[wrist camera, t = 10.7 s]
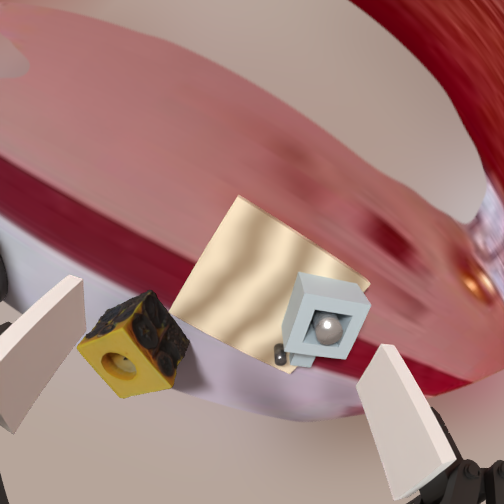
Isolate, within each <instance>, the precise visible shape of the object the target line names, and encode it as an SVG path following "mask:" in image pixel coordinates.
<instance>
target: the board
mask: <svg viewBox="0 0 504 504" xmlns="http://www.w3.org/2000/svg"><path fill="white" fill-rule="evenodd" d="M298 272H303V273H308V274H312V275H317V276H322V277H327V278H332V279H337V280H342V281H347V282H352V283H357V284H358V286H359V287H360V289H361V290H362V292H363V293H364V291H365V290H366V289H367V288H368V286H369V285H370V282H369V281H368V280H367V278H365V277H364V276H362V275H361V274H359V273H358V272H356V271H355V270H354V269H352V268H351V267H349V266H348V265H346V264H345V263H343V262H342V261H340V260H339V259H337V258H336V257H335V256H333V255H332V254H330V253H329V252H327V251H326V250H324V249H323V248H321V247H320V246H318V245H317V244H315V243H314V242H312V241H311V240H309V239H308V238H306V237H305V236H303V235H301V234H300V233H298V232H297V231H295V230H294V229H292V228H291V227H289V226H288V225H286V224H285V223H283V222H281V221H280V220H278V219H277V218H275V217H274V216H272V215H270V214H269V213H267V212H266V211H264V210H263V209H261V208H259V207H258V206H256V205H255V204H253V203H251V202H250V201H248V200H247V199H245V198H243V197H242V196H240V195H238V197H237V198H236V200H235V201H234V203H233V204H232V206H231V208H230V209H229V211H228V212H227V214H226V216H225V217H224V219H223V220H222V222H221V224H220V225H219V227H218V229H217V230H216V232H215V234H214V235H213V237H212V238H211V240H210V242H209V243H208V245H207V247H206V248H205V250H204V252H203V253H202V255H201V257H200V258H199V260H198V262H197V263H196V265H195V267H194V268H193V270H192V272H191V274H190V275H189V277H188V279H187V280H186V282H185V284H184V286H183V287H182V289H181V291H180V293H179V294H178V296H177V298H176V299H175V301H174V303H173V305H172V307H171V308H170V310H169V313H171V314H172V315H174V316H176V317H177V318H179V319H181V320H183V321H185V322H186V323H188V324H190V325H192V326H194V327H195V328H197V329H199V330H201V331H203V332H205V333H206V334H208V335H210V336H212V337H214V338H216V339H218V340H220V341H222V342H224V343H226V344H228V345H230V346H231V347H233V348H235V349H237V350H239V351H241V352H244V353H246V354H248V355H250V356H252V357H254V358H256V359H258V360H260V361H262V362H264V363H267V364H269V365H271V366H273V367H275V368H277V369H280V370H282V371H284V372H286V373H289V374H290V373H291V372H292V371H293V370H294V369H295V368H296V367H297V366H293V365H290V361H289V354H290V352H286V358H287V362H286V364H285V365H283V366H278V365H276V364H275V360H274V346H275V345H276V344H278V343H282V344H283V336H282V327H281V325H282V322H283V319H284V316H285V313H286V310H287V307H288V303H289V300H290V297H291V294H292V291H293V287H294V284H295V281H296V278H297V274H298ZM311 320H312V319H311Z"/></svg>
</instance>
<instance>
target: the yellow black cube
mask: <svg viewBox="0 0 504 504" xmlns="http://www.w3.org/2000/svg"><path fill="white" fill-rule="evenodd" d="M188 345H189V340H188V339H187V338H186V336H185V334H183V333H182V330H181V328H180V327H179V326H178V325H177V324H176V322H175V320H174V319H173V318H172V317H171V316H170V314H169V313H168V312H167V310H166V308H164V306H163V305H162V304H161V302H160V301H159V300H158V298H157V296H156V294H155V293H154V292H153V291H152V290H148V291H147V292H145V293H142V294H140V295H139V296H137V297H134V298H131V299H129V300H128V301H126V302H124V303H122V304H119V305H117V306H116V307H113V308H111V309H108V310H107V311H106V312H105V314H104V315H103V316H101V317H100V319H99V321H98V323H97V324H96V326H95V327H94V328H93V329H92V331H91V332H90V333H88V334H86V336H85V337H84V338H83V340H82V341H81V342H80V343H79V344H78V346H77V349H78V351H79V352H80V354H81V355H82V356H83V357H84V358H85V359H86V360H87V362H88V363H89V364H90V365H91V366H92V367H93V368H94V370H95V371H96V372H97V373H98V374H99V375H100V376H101V378H102V379H103V380H104V381H105V382H106V383H107V384H108V385H109V386H110V387H111V388H112V390H113V391H114V392H115V393H116V394H117V395H118V396H119V397H120V398H127V397H130V396H134V395H140V394H144V393H149V392H155V391H160V390H165V389H170V388H172V387H173V385H174V380H175V376H176V369H177V366H178V364H179V363H180V361H181V360H182V359H183V358H184V356H185V353H186V352H185V351H186V350H187V348H188Z"/></svg>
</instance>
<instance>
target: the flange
mask: <svg viewBox="0 0 504 504" xmlns="http://www.w3.org/2000/svg"><path fill="white" fill-rule="evenodd" d="M370 307H371V304H370V302H369V301H368V299H367V298H366V296H365V295H364V293H363V292H362V290H361V289H360V287H359V286H358V284H357V283H352V282H347V281H342V280H337V279H332V278H327V277H322V276H317V275H312V274H308V273H303V272H298V274H297V278H296V281H295V284H294V287H293V291H292V294H291V297H290V300H289V303H288V307H287V310H286V313H285V316H284V319H283V322H282V325H281V327H282V336H283V345H284V352H290V354H289V361H290V365H293V366H301V367H309V368H311V365H312V363H313V361H314V359H315V357H316V356H320V357H329V358H338V359H346V358H347V356H348V354H349V352H350V350H351V348H352V346H353V344H354V342H355V340H356V338H357V335H358V333H359V331H360V329H361V327H362V325H363V323H364V320H365V318H366V316H367V314H368V311H369V309H370ZM315 310H321V311H327V312H333V313H336V314H337V317H338V319H339V322H340V324H341V326H342V329H343V335H342V337H341V339H340V340H339V341H337V342H336V343H334V344H330V345H324V344H322V343H320V342H319V341H318V340H317V336H316V333H315V329H314V325H313V322H312V320H311V319H312V316H313V313H314V311H315Z"/></svg>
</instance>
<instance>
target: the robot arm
mask: <svg viewBox="0 0 504 504" xmlns="http://www.w3.org/2000/svg"><path fill="white" fill-rule="evenodd" d="M6 294H7V277H6V272H5V268H4V265H3V262H2V259H1V257H0V302H1V301H3V300H4V299H5V297H6ZM85 332H86V321H85V308H84V291H83V279H81V278H78V277H75V276H72V275H68V276H67V277H65V278H64V279H63V280H62V281H61V282H59V283H58V284H57V285H56V286H55V287H53V288H52V289H51V290H50V291H49V292H47V293H46V294H45V295H44V296H43V297H42V298H41V299H39V300H38V301H37V302H36V303H35V304H34V305H33V306H31V307H30V308H29V309H28V310H27V311H26V312H25V313H24V314H23V315H21V316H20V318H18V319H17V320H16V321H15V322H14V323H13V324H12V323H10V322H6V323H4V324H2V325H0V425H1V426H2V427H3V428H5V429H6V430H8V431H9V432H11V433H12V434H15V432H16V430H17V429H18V427H19V426H20V424H21V422H22V421H23V419H24V417H25V416H26V414H27V413H28V411H29V410H30V408H31V407H32V405H33V403H34V402H35V401H36V399H37V398H38V396H39V395H40V393H41V392H42V390H43V389H44V387H45V386H46V384H47V383H48V382H49V380H50V379H51V377H52V376H53V375H54V373H55V372H56V370H57V369H58V367H59V366H60V365H61V364H62V362H63V361H64V359H65V358H66V357H67V355H68V354H69V353H70V351H71V350H72V349H73V347H74V346H75V345H76V343H77V342H78V341H79V340H80V338H81V337H82V336H83V334H84V333H85ZM356 389H357V392H358V394H359V397H360V400H361V403H362V406H363V408H364V411H365V414H366V417H367V420H368V422H369V425H370V428H371V431H372V434H373V437H374V440H375V443H376V446H377V449H378V452H379V455H380V458H381V461H382V464H383V467H384V471H385V474H386V477H387V480H388V484H389V487H390V490H391V494H392V497H393V500H394V501H395V500H399V499H403V498H406V497H409V496H411V495H412V494H414V493H415V492H416V491H418V490H419V491H420V495H419V496H417V497H416V498H414V499H413V500H412V501H410V502H408V503H407V504H413V503H414V504H480V503H481V502H483V501H484V500H486V504H504V461H502V460H498V461H497V462H495V463H494V464H493V465H492V466H491V467H489V468H480V467H479V466H478V465H477V463H475V462H474V461H472V460H469V459H467V460H463V458H462V457H461V454H460V452H459V450H458V448H457V446H456V445H455V443H454V441H453V439H452V437H451V435H450V433H448V429H447V427H446V426H445V423H444V421H443V420H442V418H441V416H440V414H439V413H438V412H437V411H436V410H435V409H434V408H433V407H430V406H429V404H428V402H427V401H426V399H425V397H424V395H423V393H422V392H421V390H420V388H419V386H418V385H417V383H416V381H415V379H414V378H413V376H412V374H411V373H410V371H409V369H408V368H407V366H406V364H405V362H404V361H403V359H402V358H401V356H400V354H399V353H398V351H397V349H396V348H395V346H394V345H388V344H381V345H380V346H379V348H378V350H377V352H376V353H375V355H374V357H373V359H372V360H371V362H370V364H369V365H368V367H367V369H366V370H365V372H364V374H363V375H362V377H361V379H360V380H359V382H358V383H357V385H356ZM0 504H9V502H8V499H7V496H6V492H5V489H4V486H3V482H2V478H1V474H0Z"/></svg>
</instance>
